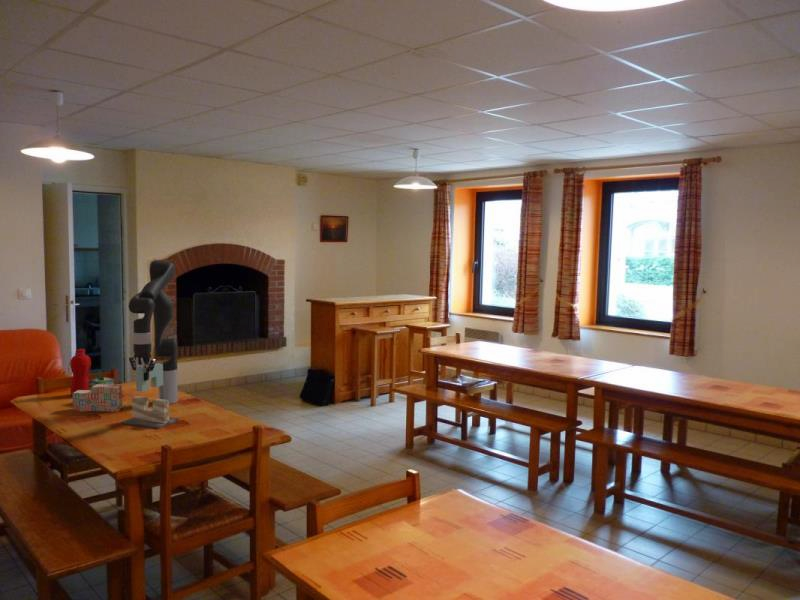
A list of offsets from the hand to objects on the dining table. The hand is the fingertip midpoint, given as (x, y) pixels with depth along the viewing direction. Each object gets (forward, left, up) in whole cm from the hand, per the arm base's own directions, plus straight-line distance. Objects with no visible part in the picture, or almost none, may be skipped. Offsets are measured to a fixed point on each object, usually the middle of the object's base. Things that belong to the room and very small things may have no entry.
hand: (143, 379), depth 279 cm
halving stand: (-4, +1, -21) cm, 21 cm away
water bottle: (-47, -59, -21) cm, 78 cm away
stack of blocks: (-21, -34, -21) cm, 45 cm away
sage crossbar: (-4, +1, -5) cm, 6 cm away
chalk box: (-37, -41, -21) cm, 59 cm away
